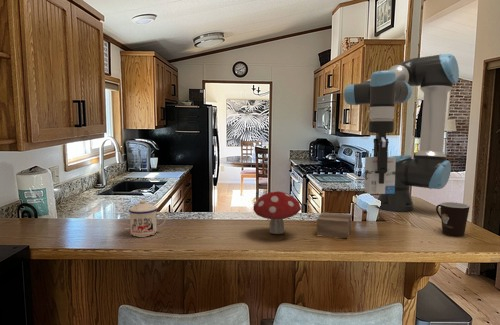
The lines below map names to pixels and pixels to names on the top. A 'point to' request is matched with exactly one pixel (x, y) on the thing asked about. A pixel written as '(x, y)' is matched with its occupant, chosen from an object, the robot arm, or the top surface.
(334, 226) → the taupe block
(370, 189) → the ink box
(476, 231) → the top surface
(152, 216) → the teacup with lid
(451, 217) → the coffee mug
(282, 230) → the decorative mushroom
